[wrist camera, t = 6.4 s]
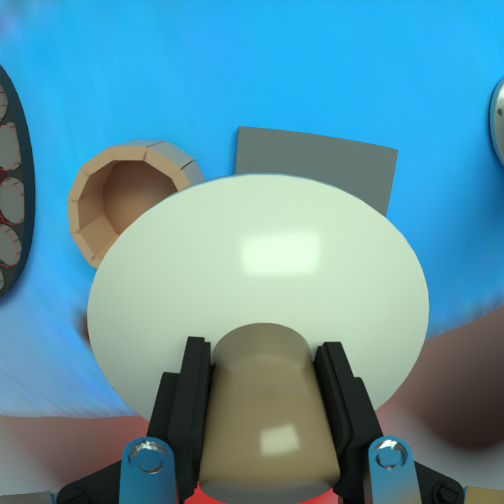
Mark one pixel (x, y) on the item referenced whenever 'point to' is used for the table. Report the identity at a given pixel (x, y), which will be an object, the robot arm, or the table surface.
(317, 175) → the mat
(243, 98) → the table surface
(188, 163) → the bowl
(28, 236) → the palette wheel
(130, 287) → the lid
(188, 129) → the table surface
